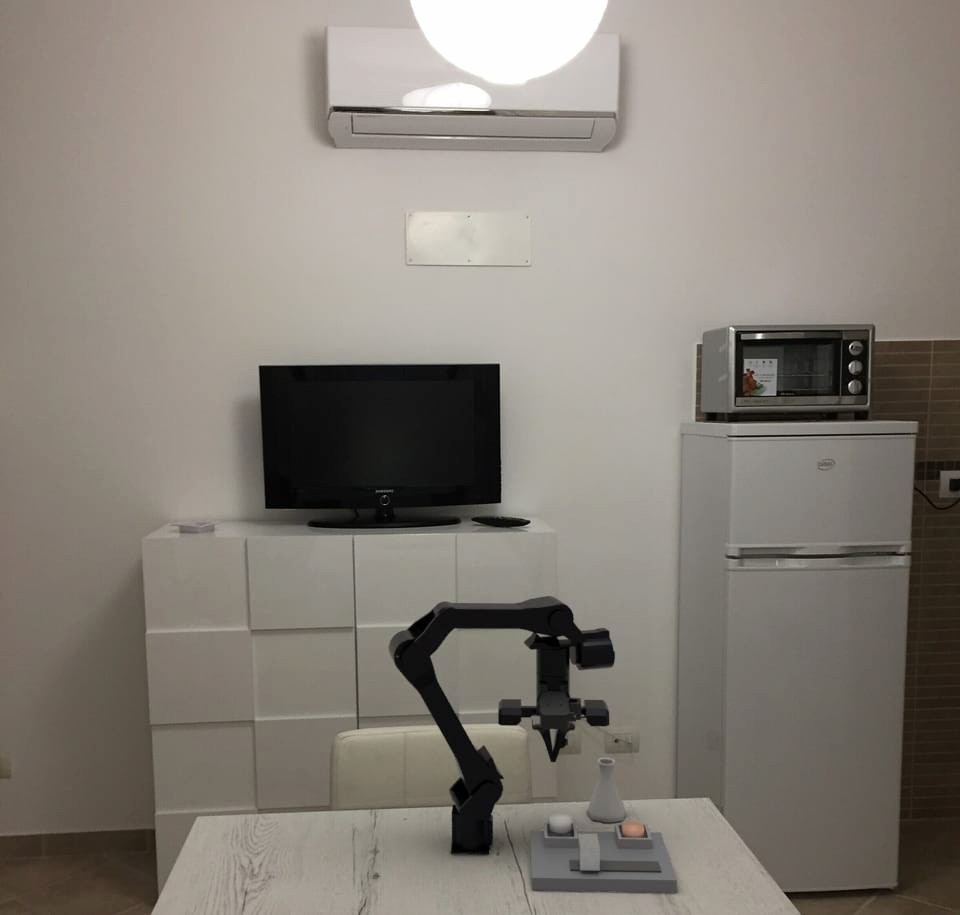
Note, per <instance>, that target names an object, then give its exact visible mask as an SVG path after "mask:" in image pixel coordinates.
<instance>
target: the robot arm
mask: <svg viewBox="0 0 960 915" xmlns="http://www.w3.org/2000/svg"><path fill="white" fill-rule="evenodd" d="M574 621H575V618H574V613H573V611H572V608H570V607H569V605H568V604H565V603H564V602H563V601H561V600H559V599H558V598H556V597H555V596H552V595H551V596H550V595H546V596H539V597H535V598H529V599H527V600H524V601H519V602H513V603H511V602H510V603H507V602H506V603H505V602H504V603H503V602H502V603H500V602H498V603H497V602H489V603H488V602H487V603H486V602H450V601H446V600H445V601H441V602H439V603H437V604H436V605H435V606H434V607H433V608H432V609H431V610H430V611H428V612H427V613H426V614H424V615H423V616H421V617H420V618H418V619H417V620H415V621H414V622H413V623H412V624H411V625H409V627H408V628H406V629H405V630H401V631H398V632H396V633H395V634H394V635H393V636H392V637H391V639H390V642H389V644H388V652H389V656H390V657H391V659H392V661H393V663H394V665H395V667H396V668H397V670H398V671H399V672H400V674H402V676H403V677H404V678H405V679H406V681H407V682H408V683H409V684H410V685H411V686H412V687H413V688H414V689H415V690H416V691H417V693H418V694H419V695H420V697H421V698H422V700H423V702H424V704H425V706H426V708H427V710H428V711H429V713H430V715H431V716H432V719H433V720H434V722H435V724H436V726H437V727H438V729H439V731H440V732H441V735H442V737H443V738H444V740H445V741H446V744H447V746H448V747H449V750H451V752H452V754H453V757H454V760H455V761H454V762H455V763H456V767H457V770H458V773H459V778H457V780H456V781H455V782H454V783H453V784H452V786H450V787H449V789H448V792H449V794H450V798H451V800H452V802H453V803H454V804H453V805H452V809H451V843H450V844H451V845H450V849H449V850H450V854H451V855H490V853H491V847H492V846H493V844H494V815H492V813H493V811H494V808H495V805H496V803H498V802H499V801H500V799H501V797H502V795H503V792H504V785H503V782H502V780H504V779H505V778H504V776H503V774H502V772H501V770H500V769H499V767H498V766H497V765H496V762H495V760H494V758H493V756H492V754H490V752H489V750H488V749H487V747H486V745H482V746H481V747H480V748H479V749H478V748H477V747H476V746H475V745H474V744H473V743H472V741H471V739H470V737H469V734H468V733H467V732H466V730H465V728H464V726H463V724H462V722H461V721H460V719H459V717H458V715H457V714H456V712H455V710H454V708H453V707H452V705H451V702H450V701H449V699H448V697H447V696H446V694H445V692H444V690H443V688H442V687H441V685H440V683H439V681H438V677H437V673H436V670H435V667H434V664H433V660H432V658H431V656H432V655H433V654H434V653H436V651H438V649H439V648H440V647H441V645H442V644H443V643H444V642H445V640H446V638H447V637H448V636H449V635H450V633H451V632H452V631H453V630H456V629H458V630H459V629H460V630H461V629H465V630H466V629H468V630H470V629H471V630H472V629H473V630H474V629H479V630H481V629H482V630H483V629H486V630H487V629H488V630H489V629H492V630H493V629H494V630H496V629H497V630H498V629H500V630H501V629H502V630H506V629H507V630H509V629H510V630H511V629H512V630H515V629H516V630H517V629H518V630H523V631H527V632H530V633H532V634H531V635H530V636H529V637H527V638H526V639H525V640H524V642H523V644H524V645H525V646H526V647H527V648H528V649H529V650H530V651H531V650H532V651H534V650H535V655H536V657H535V658H536V660H535V666H536V667H535V670H536V671H535V672H536V673H535V676H536V678H535V679H536V680H535V682H536V683H535V684H536V685H535V686H536V688H535V694H536V695H535V696H536V697H535V698H536V699H535V700H536V702H535V704H536V705H522V699H520V698H519V699H517V698H515V699H514V698H513V699H512V698H508V699H507V698H502V699H501V700H500V701H499V702H498V710H497V711H498V712H497V714H498V715H497V716H498V719H497V720H498V721H497V723H498V725H499V726H501V727H502V726H505V727H507V726H509V727H511V726H513V727H515V726H518V725H519V724H520V723H521V722H522V718H523V719H524V718H527V719H529V718H530V720H531V729H532V730H534V731H538V732H539V734H540V735H541V738H542V740H543V742H544V745H545V747H546V751H547V755H548V758H549V760H550V762H551V763H556V762H557V759H558V756H559V754H560V750H561V747H562V744H563V742H564V739H565V737H566V736H567V734H568V733H569V732H570V731H575V730H576V724H575V722H577V721H581V720H582V719H585V722H586V723H587V724H588V725H589V726H590V727H608V726H610V710H609V708H608V703H607V702H606V701H605V700H603V699H583V706H582V699H581V697H571V695H570V694H571V693H570V692H571V691H570V690H571V685H570V684H571V680H570V679H571V678H570V675H571V674H570V671H571V669H570V668H571V667H570V666H571V664H572V665H574V666H576V668H577V670H578V671H589V670H602V669H611V668H613V666H614V665H615V660H616V652H615V650H614V646H613V641H612V639H611V638H610V637H611V636H610V634H611V632H610V630H609V629H607V628H605V627H598V628H595V629H585V630H581V629H580V628H579V626H577V625H576V623H575V622H574ZM540 635H541V636H540ZM542 635H544V636H542ZM560 637H564V639H562V638H561V639H560ZM551 730H554V737H553V743H552V733H551Z"/></svg>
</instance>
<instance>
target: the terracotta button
mask: <svg viewBox="0 0 960 915" xmlns="http://www.w3.org/2000/svg"><path fill="white" fill-rule="evenodd" d="M623 823H624V824H623V825H622V838H644V826H643V825H642V824H643V823H641V822H638V821H625V822H623Z"/></svg>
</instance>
